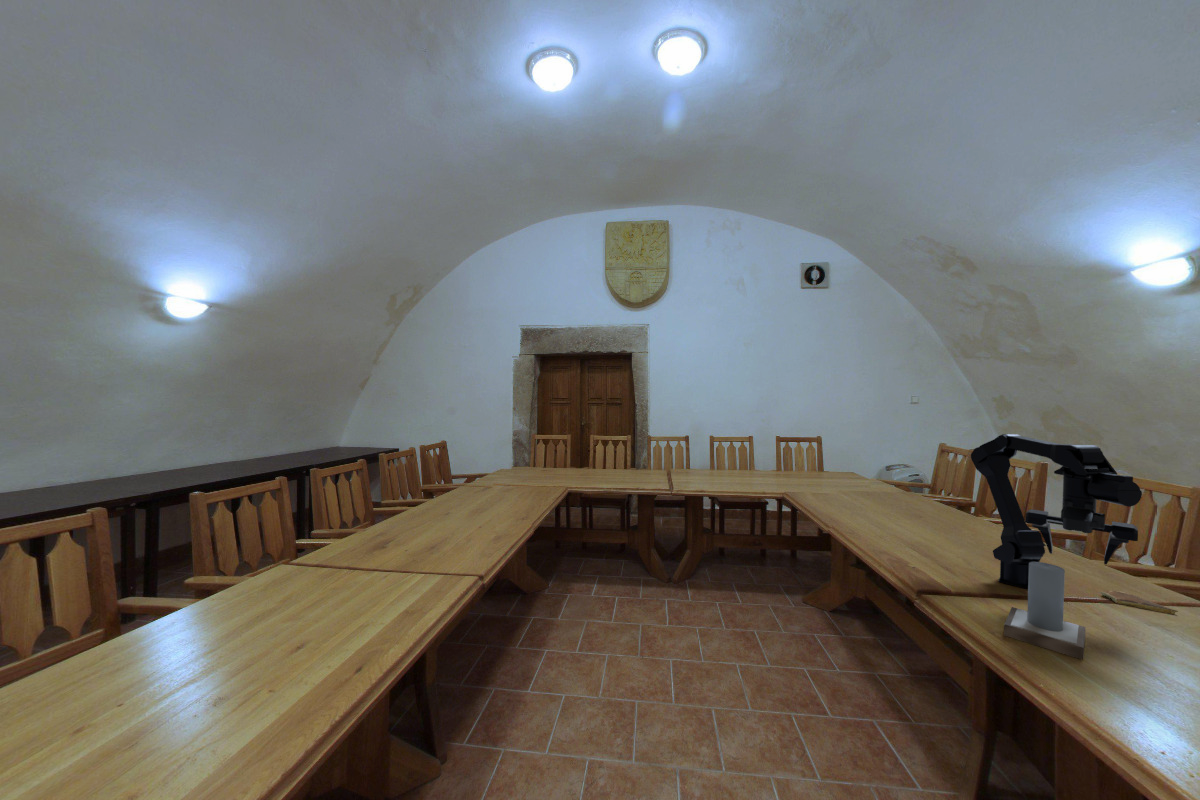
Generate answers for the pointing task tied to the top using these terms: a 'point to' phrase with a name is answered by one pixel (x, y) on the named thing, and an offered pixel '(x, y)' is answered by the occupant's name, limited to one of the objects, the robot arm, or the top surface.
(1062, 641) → the plate
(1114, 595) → the shard
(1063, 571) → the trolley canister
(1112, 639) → the top surface
